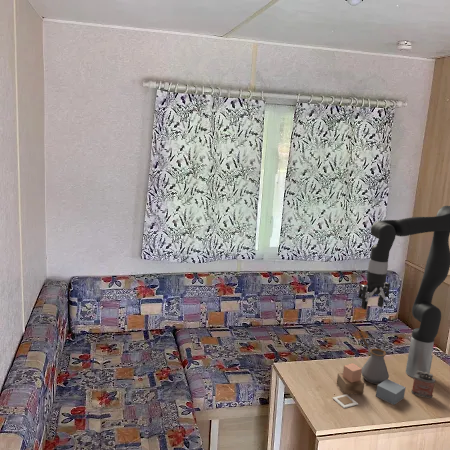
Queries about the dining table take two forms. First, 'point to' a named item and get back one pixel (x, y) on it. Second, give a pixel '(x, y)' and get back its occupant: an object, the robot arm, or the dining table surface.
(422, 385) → the lighter
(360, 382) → the walnut block
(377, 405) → the dining table surface
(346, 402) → the white square frame
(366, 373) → the coffee pot
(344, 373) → the terracotta cube
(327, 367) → the dining table surface
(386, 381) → the slate block
